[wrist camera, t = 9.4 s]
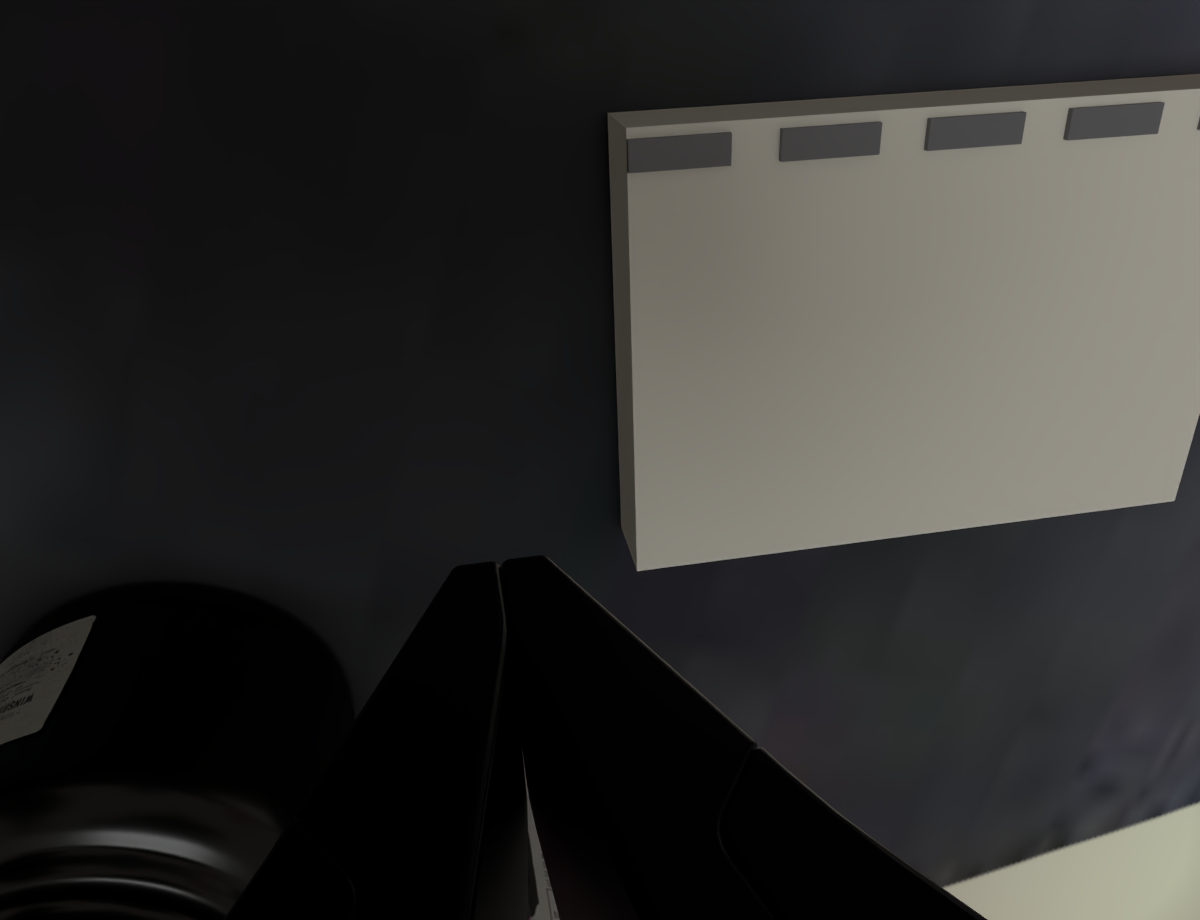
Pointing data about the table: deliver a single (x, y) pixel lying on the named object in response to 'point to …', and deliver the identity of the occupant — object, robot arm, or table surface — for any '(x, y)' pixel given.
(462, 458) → the table surface
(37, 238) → the table surface
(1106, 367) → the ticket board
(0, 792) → the ink bottle
